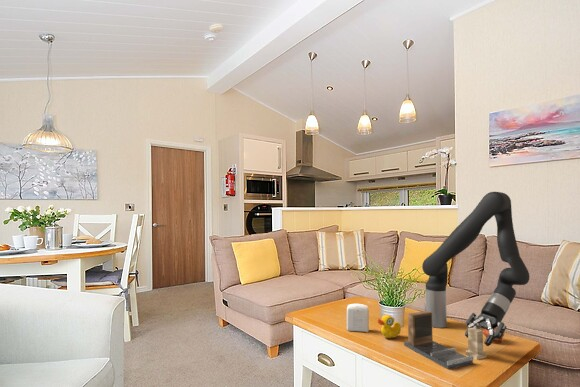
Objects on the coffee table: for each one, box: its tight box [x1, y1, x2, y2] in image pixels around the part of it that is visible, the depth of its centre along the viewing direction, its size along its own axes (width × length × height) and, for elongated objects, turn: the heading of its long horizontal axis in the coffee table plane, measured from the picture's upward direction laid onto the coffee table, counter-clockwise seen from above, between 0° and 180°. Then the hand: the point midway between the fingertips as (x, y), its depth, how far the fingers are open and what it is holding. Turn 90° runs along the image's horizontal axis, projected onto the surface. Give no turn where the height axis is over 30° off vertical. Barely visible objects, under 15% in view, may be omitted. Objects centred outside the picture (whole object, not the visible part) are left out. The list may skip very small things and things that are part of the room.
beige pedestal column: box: [465, 327, 487, 360], centre depth 134 cm, size 5×5×10 cm
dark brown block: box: [407, 310, 434, 345], centre depth 143 cm, size 4×10×12 cm, turn 112°
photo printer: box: [346, 303, 370, 333], centre depth 162 cm, size 10×4×12 cm, turn 81°
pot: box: [482, 327, 505, 343], centre depth 148 cm, size 8×8×7 cm
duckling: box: [377, 314, 401, 339], centre depth 152 cm, size 11×5×10 cm, turn 109°
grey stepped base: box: [403, 340, 474, 370], centre depth 135 cm, size 23×12×3 cm, turn 22°
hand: (476, 340), depth 134 cm, fingers open, 8 cm apart
